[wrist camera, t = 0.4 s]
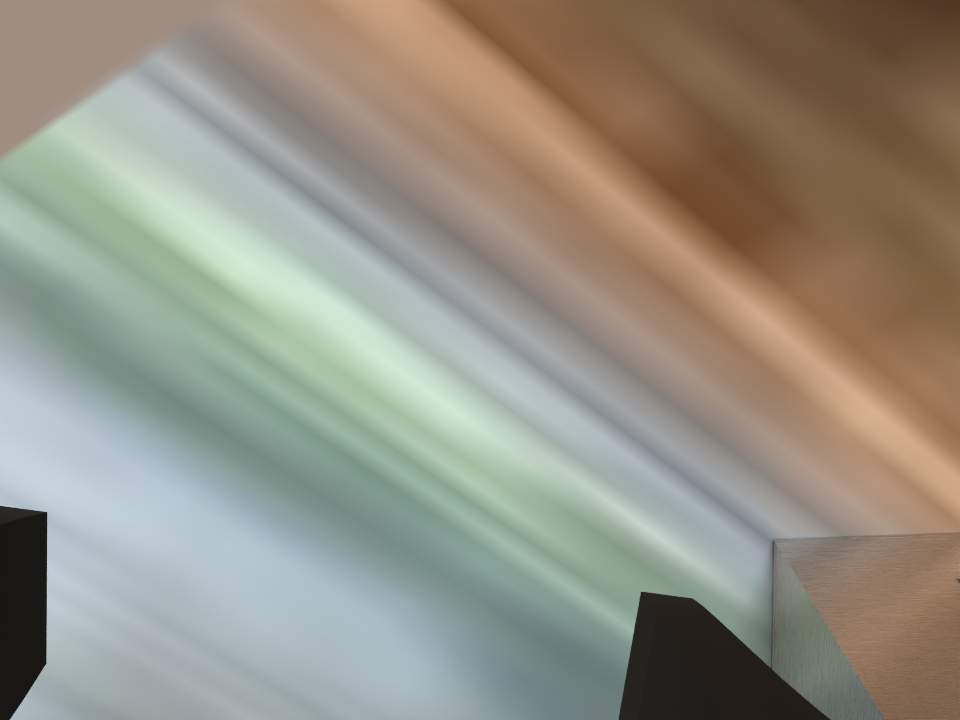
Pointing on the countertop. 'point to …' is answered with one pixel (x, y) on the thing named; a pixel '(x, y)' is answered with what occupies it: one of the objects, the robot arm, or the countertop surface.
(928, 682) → the block
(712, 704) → the robot arm
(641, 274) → the countertop surface
